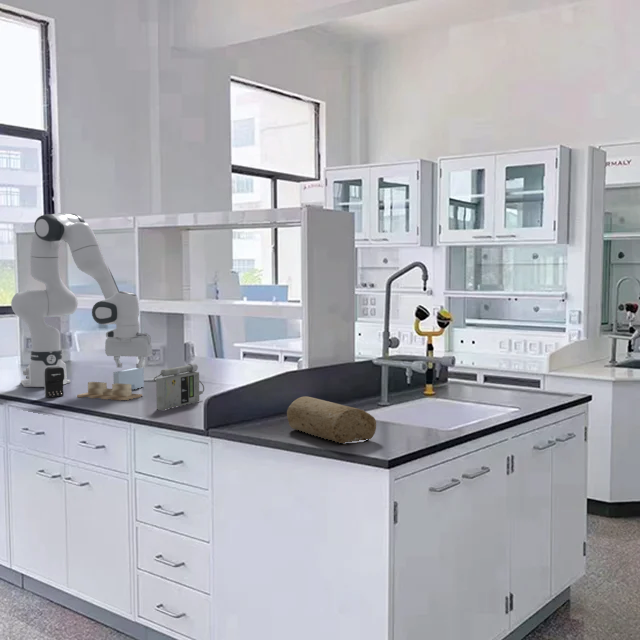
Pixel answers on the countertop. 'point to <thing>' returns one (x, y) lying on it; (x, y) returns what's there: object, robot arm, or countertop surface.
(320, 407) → the core sample
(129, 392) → the joint jig
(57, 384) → the battery
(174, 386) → the geiger counter
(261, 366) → the countertop surface
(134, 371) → the blue plate
